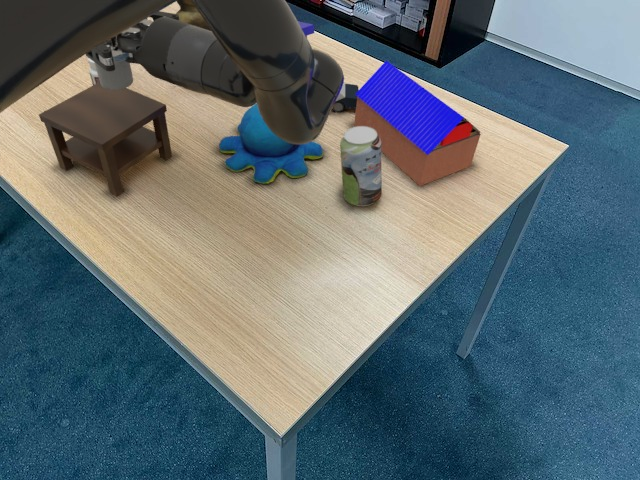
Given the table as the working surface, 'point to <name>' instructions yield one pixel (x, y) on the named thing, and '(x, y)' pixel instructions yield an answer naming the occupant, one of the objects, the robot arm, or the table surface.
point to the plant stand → (107, 131)
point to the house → (415, 126)
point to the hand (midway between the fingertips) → (89, 22)
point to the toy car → (346, 97)
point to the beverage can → (361, 166)
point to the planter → (115, 76)
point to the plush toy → (266, 150)
